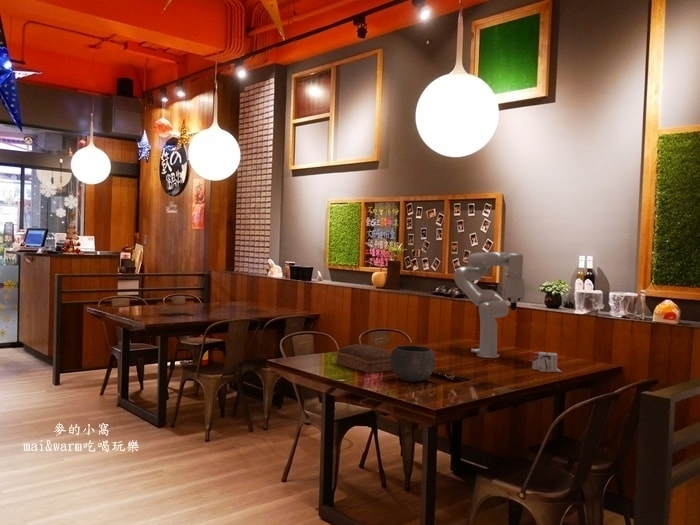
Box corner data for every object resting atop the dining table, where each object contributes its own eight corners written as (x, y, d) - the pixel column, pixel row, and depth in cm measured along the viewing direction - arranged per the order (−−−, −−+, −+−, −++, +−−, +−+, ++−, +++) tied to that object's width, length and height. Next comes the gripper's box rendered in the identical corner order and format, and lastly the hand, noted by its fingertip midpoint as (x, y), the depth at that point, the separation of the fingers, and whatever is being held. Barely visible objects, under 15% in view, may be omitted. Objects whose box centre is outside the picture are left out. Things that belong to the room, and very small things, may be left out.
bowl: (403, 387, 264) (404, 352, 263) (382, 377, 283) (382, 345, 282) (443, 384, 272) (443, 350, 272) (419, 374, 291) (420, 343, 290)
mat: (539, 371, 306) (539, 370, 306) (534, 366, 318) (534, 366, 318) (562, 372, 305) (562, 371, 305) (555, 367, 317) (555, 366, 317)
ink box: (532, 352, 309) (557, 354, 305) (533, 351, 313) (557, 352, 309) (532, 369, 309) (556, 371, 305) (532, 367, 313) (556, 369, 309)
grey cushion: (368, 374, 290) (368, 350, 290) (334, 364, 314) (334, 342, 314) (395, 371, 300) (396, 348, 299) (361, 361, 324) (361, 339, 324)
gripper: (502, 276, 325) (500, 310, 325) (530, 277, 324) (528, 311, 324) (499, 275, 332) (498, 308, 333) (527, 276, 331) (525, 309, 332)
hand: (513, 309), depth 329 cm, fingers closed
